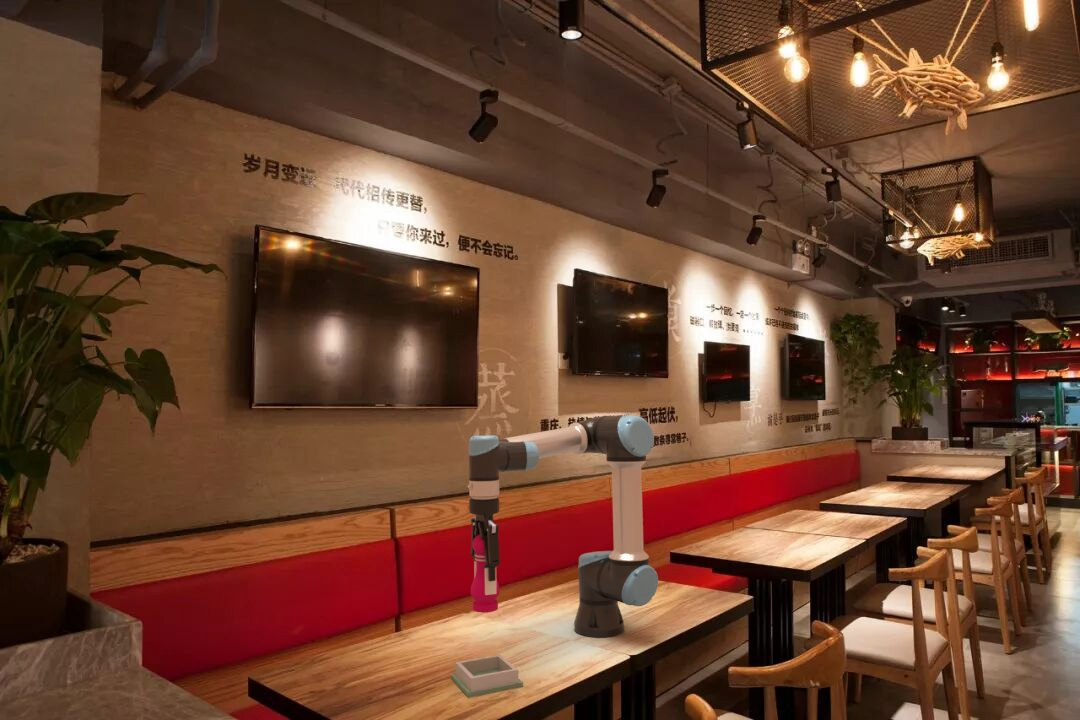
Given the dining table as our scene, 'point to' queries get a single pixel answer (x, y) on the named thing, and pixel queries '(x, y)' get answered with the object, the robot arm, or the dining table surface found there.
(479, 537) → the pepper mill
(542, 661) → the dining table surface
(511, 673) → the deck socket
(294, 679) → the dining table surface
